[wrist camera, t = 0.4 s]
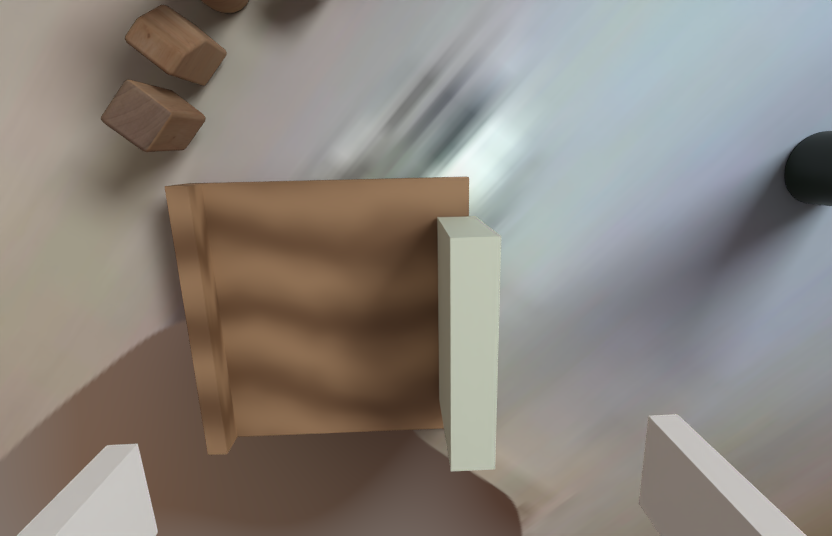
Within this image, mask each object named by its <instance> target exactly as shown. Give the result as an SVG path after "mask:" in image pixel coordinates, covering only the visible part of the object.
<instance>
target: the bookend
mask: <svg viewBox="0 0 832 536" xmlns="http://www.w3.org/2000/svg"><path fill="white" fill-rule="evenodd" d="M437 229H438V328H439V401H440V407H441V414H442V420H443V426H444V432H445V438H446V444H447V450H448V456H449V462H450V468H451V471H467V470H489V469H495V453H496V415H497V377H498V339H499V301H500V263H501V236H500V235H499V234H497V233H496V232H495V231H494V230H492V229H491V228H490V227H488V226H487V225H486V224H485V223H483V222H482V221H481V220H480V219H478V218H477V217H476V216H466V217H437Z"/></svg>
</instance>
